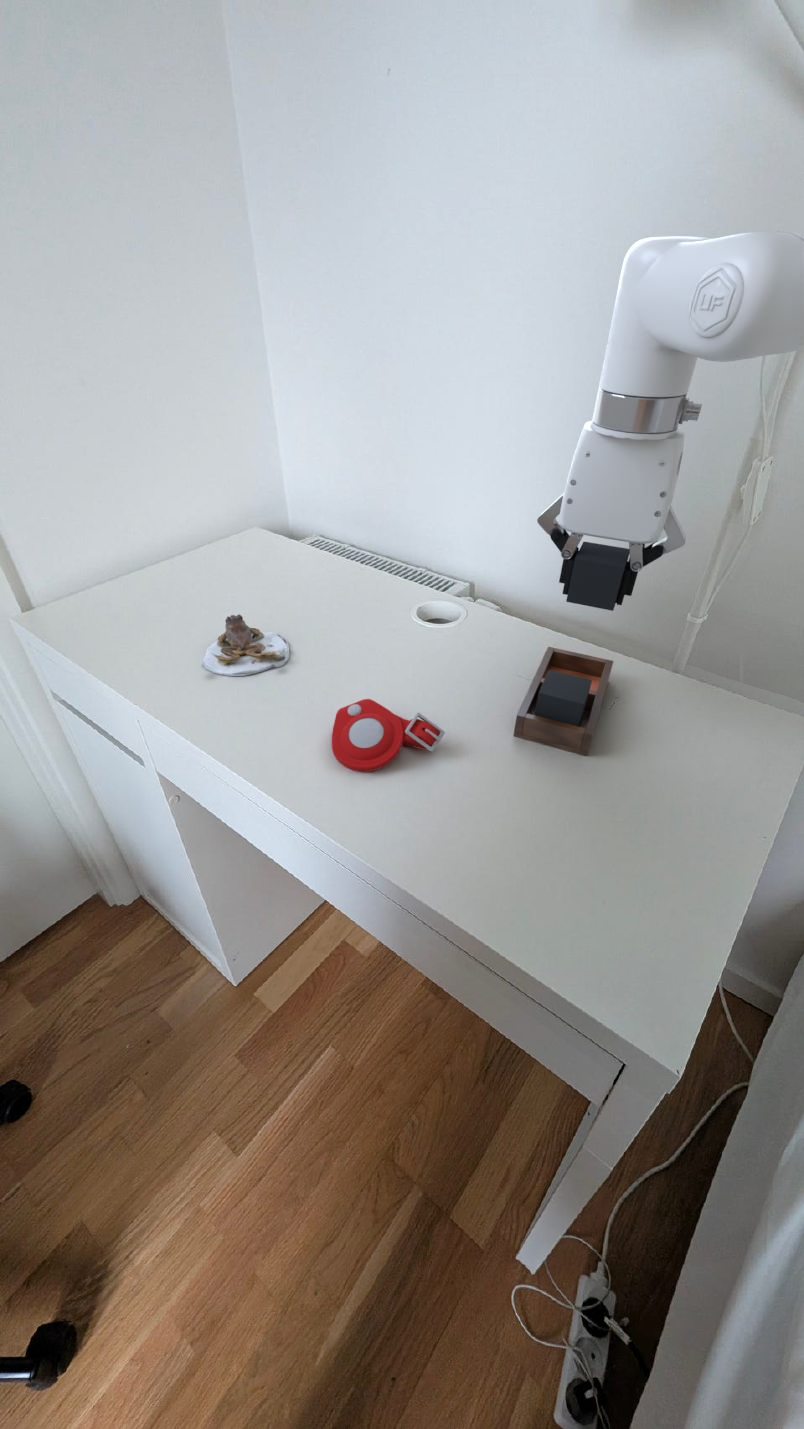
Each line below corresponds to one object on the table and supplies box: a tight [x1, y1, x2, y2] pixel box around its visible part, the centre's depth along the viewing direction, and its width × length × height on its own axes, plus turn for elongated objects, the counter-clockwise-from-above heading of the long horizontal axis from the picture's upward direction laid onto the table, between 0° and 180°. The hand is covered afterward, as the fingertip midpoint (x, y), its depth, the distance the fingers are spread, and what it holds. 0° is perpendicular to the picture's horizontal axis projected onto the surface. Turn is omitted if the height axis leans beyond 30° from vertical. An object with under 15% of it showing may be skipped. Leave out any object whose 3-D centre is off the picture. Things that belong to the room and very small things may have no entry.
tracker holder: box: [331, 698, 446, 772], centre depth 65 cm, size 12×4×10 cm
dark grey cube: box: [535, 670, 592, 727], centre depth 67 cm, size 5×5×5 cm
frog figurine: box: [201, 614, 291, 677], centre depth 79 cm, size 12×12×4 cm
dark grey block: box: [565, 541, 630, 612], centre depth 62 cm, size 5×5×5 cm
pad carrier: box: [513, 646, 615, 757], centre depth 70 cm, size 8×16×3 cm, turn 156°
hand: (593, 592), depth 64 cm, fingers closed on dark grey block, 5 cm apart
